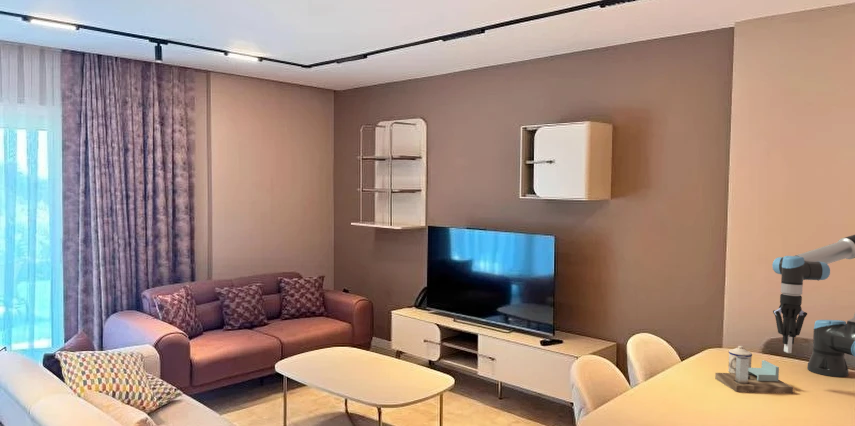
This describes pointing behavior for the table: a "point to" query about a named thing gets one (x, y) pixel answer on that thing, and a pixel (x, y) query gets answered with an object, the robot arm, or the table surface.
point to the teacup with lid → (735, 353)
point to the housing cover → (765, 372)
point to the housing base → (753, 384)
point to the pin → (742, 370)
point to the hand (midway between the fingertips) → (787, 352)
